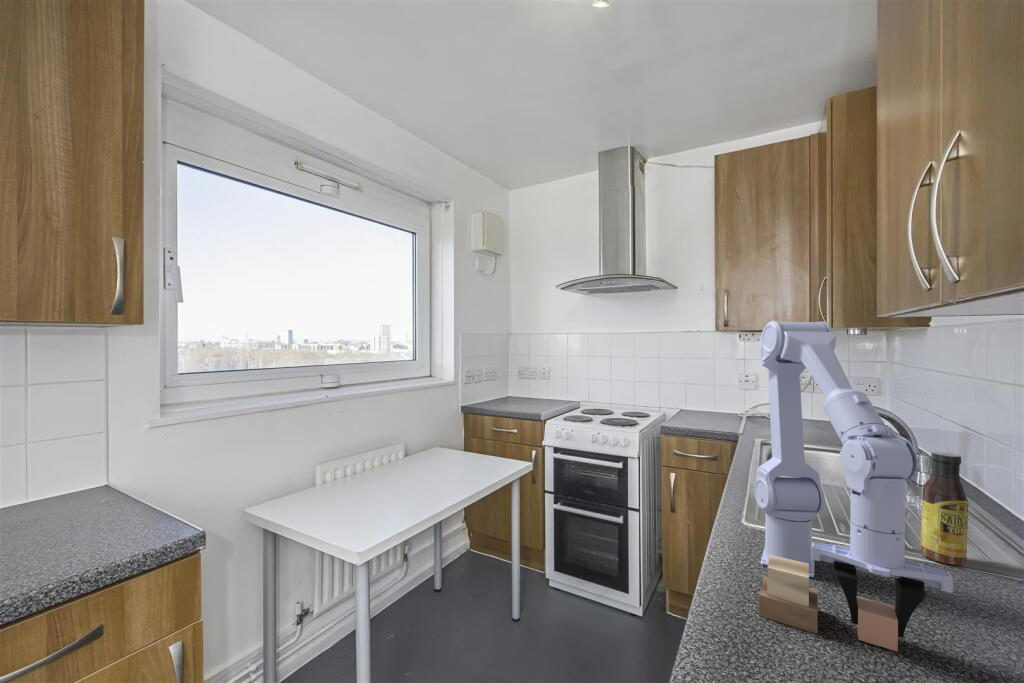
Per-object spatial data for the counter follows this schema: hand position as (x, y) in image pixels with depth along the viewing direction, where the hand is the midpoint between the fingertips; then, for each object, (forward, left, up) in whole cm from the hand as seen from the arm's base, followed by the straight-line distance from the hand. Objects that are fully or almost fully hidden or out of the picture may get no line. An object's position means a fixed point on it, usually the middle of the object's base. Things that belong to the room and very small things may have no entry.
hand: (876, 626), depth 60 cm
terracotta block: (0, 0, -1) cm, 1 cm away
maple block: (0, -10, +1) cm, 10 cm away
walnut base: (0, -10, -2) cm, 10 cm away
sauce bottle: (-38, +13, -2) cm, 40 cm away
